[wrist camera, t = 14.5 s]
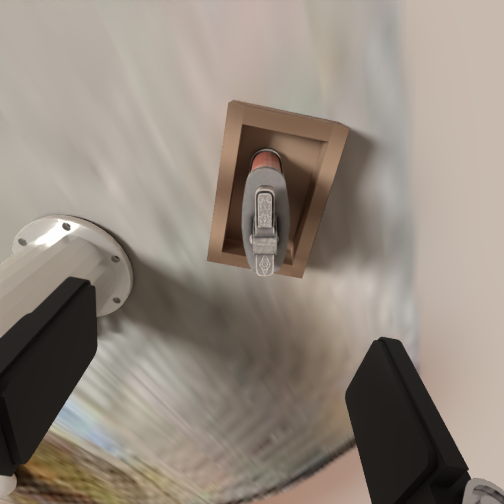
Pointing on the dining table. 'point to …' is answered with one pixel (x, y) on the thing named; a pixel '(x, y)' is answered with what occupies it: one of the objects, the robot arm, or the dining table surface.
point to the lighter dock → (295, 173)
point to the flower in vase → (7, 485)
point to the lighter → (265, 213)
